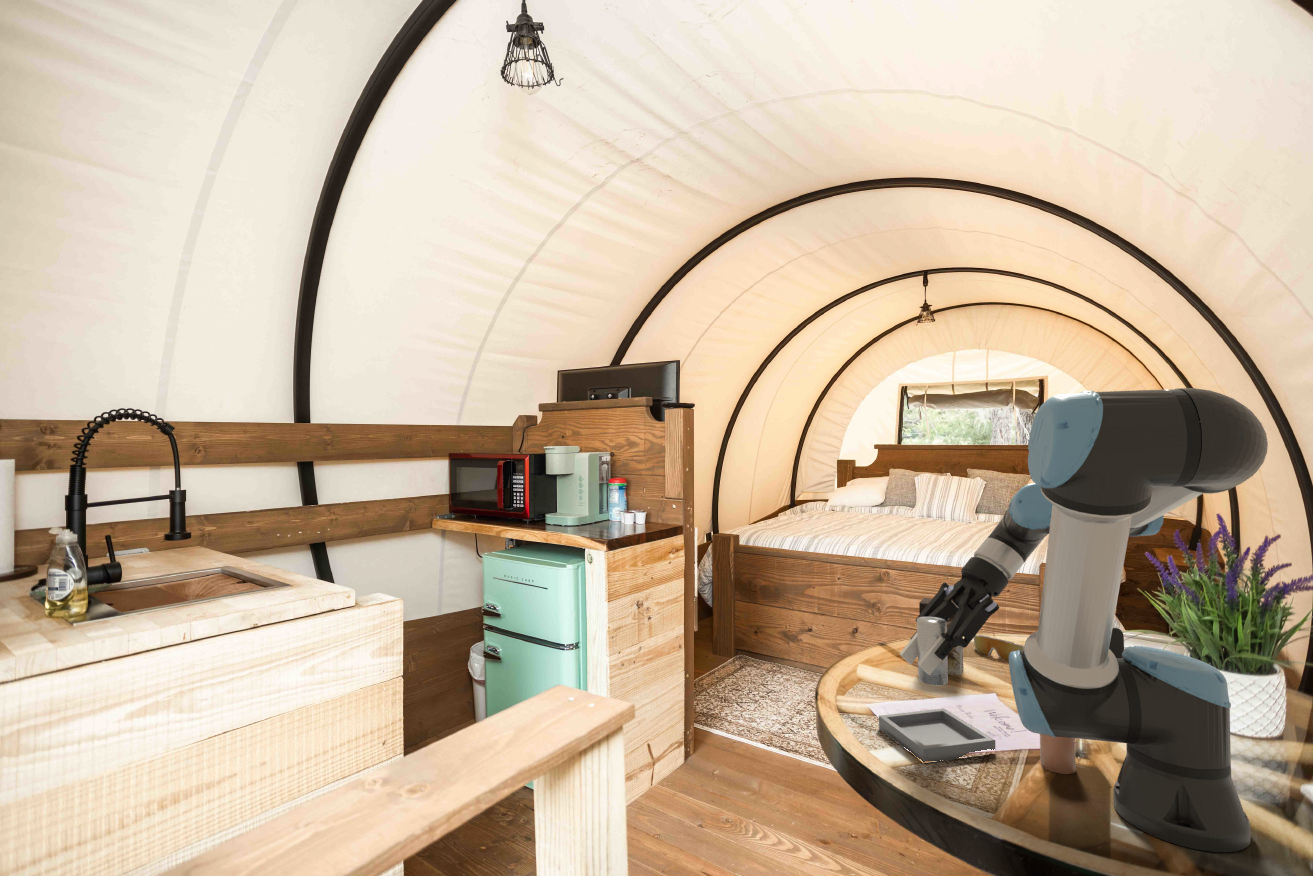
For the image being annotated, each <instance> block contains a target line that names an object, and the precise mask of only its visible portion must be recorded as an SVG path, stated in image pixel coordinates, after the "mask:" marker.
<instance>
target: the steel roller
mask: <svg viewBox="0 0 1313 876" xmlns="http://www.w3.org/2000/svg"><path fill="white" fill-rule="evenodd" d="M916 618H917V617H916ZM916 631H917V646H918V657H917V671H918V672H917V676H918V678H917V680H919V682H921V683H923V684H926V685H930V686H945V685H947V684H948V683H949V676H948V675H949V674H948V664H947V656H946V658H945V659H943V660H942V661H941V662H940V663H939V664H938V666H937V667H936V668H935V669H934V671H933V672H932V673H931V674H930V675H929V674H927V673H926V672H925V671H924V670H923V669H922V668H921V667H920V666H919V665H918V663H919V661H920V660H921V659H922V658H923V656H924V655H925V654H926V653H927V651H928V650H929V649H930V648H931V646H932V645H933V644H934V643H935V641H936V640H937V639H938V638H939V637H940V636H941V637H943V636H942V633H946V632H947V627H946V620H944V619H941V618H937V617H919V618H917V622H916ZM943 638H944V637H943ZM944 639H945V638H944Z"/></svg>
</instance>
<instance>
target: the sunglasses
mask: <svg viewBox="0 0 1313 876" xmlns="http://www.w3.org/2000/svg"><path fill="white" fill-rule="evenodd" d="M973 643H974V647H975V650H976V651H977V652H979V653H981V654H984V655H987V656H991V655H992V653H993V650H994V651H995V652H996V655H997V656H998V658H999V659H1001V660H1002V659H1003V660H1009V654H1010V653H1011V652H1012V651H1017V650H1021V651H1023V652H1024V645H1022V644H1018V643H1015V642H1013V641H1009V640H1004V639H1001V638H996V637H992V636H987V635H982V634H978V635H977V634H976V635H975V637H974V638H973Z"/></svg>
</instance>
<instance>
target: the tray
mask: <svg viewBox="0 0 1313 876" xmlns="http://www.w3.org/2000/svg"><path fill="white" fill-rule="evenodd" d="M878 729H879V730H880V731H881V732H883V733H884V734H885V735H887V736H888V737H889V738H890V739H891V740H893V741H894V742H895V741H896V742H898V743H899V744H900V745H901V746H900V745H899V744H898V743H897V744H898V745H899V746H900V747H902V746H903V747H905V748H906V749H908V750H909V751H911V752H912V753H913V754H914V755H915V756H916V757H918V758H919V759H921V760H922V761H923V762H925V761H940V760H941V762H948V760H949V761H955V760H954V759H957V758H959V757H962V756H963V755H966V754H967V753H969V752H975V751H981V750H987V749H991V750H992V749H993V750H994V749H995V750H996V739H995V738H993V737H991V736H990V735H988V734H987V733H984V732H983V731H981V730H980V729H979V728H977V727H975V726H973V725H972V724H970V723H968V722H967V721H966V720H964V719H962V718H960V717H959V716H958V715H956V714H955V713H952V712H951V711H949V710H947V709H946V708H944V707H943V708H936V709H927V710H925V709H924V710H916V711H907V712H901V713H900V712H899V713H891V714H882V715H881V714H880V715H878ZM896 742H895V743H896ZM903 747H902V748H903ZM916 757H915V758H916ZM942 760H944V761H942ZM945 760H946V761H945ZM957 760H958V759H957Z"/></svg>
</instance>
